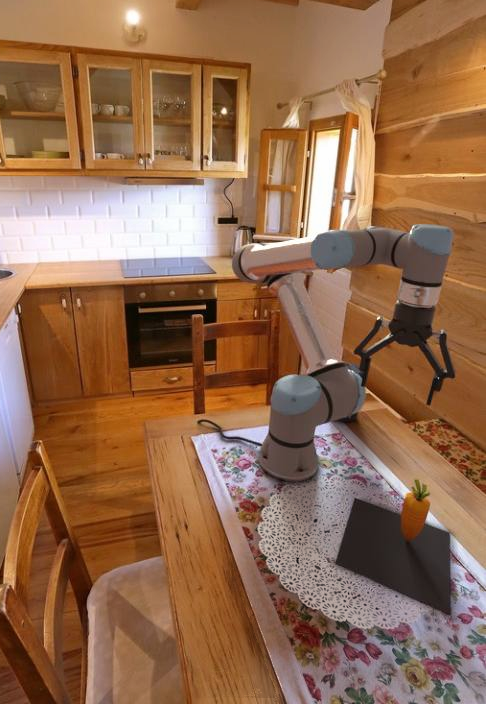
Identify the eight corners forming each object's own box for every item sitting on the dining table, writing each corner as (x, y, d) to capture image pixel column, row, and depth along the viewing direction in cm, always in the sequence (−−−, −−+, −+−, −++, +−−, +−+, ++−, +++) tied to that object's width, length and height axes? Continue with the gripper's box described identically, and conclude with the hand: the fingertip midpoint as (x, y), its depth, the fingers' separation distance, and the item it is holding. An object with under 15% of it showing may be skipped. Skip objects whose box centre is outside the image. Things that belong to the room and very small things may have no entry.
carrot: (422, 553, 82) (439, 494, 77) (397, 548, 83) (411, 489, 78) (416, 533, 87) (432, 476, 82) (392, 528, 88) (405, 472, 83)
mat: (335, 563, 79) (335, 563, 79) (354, 497, 96) (354, 497, 96) (450, 615, 71) (450, 614, 71) (449, 532, 88) (449, 532, 88)
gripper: (350, 295, 85) (334, 383, 93) (488, 321, 74) (458, 419, 82) (357, 287, 92) (342, 371, 99) (486, 310, 80) (458, 402, 88)
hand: (395, 393), depth 90 cm, fingers open, 13 cm apart
